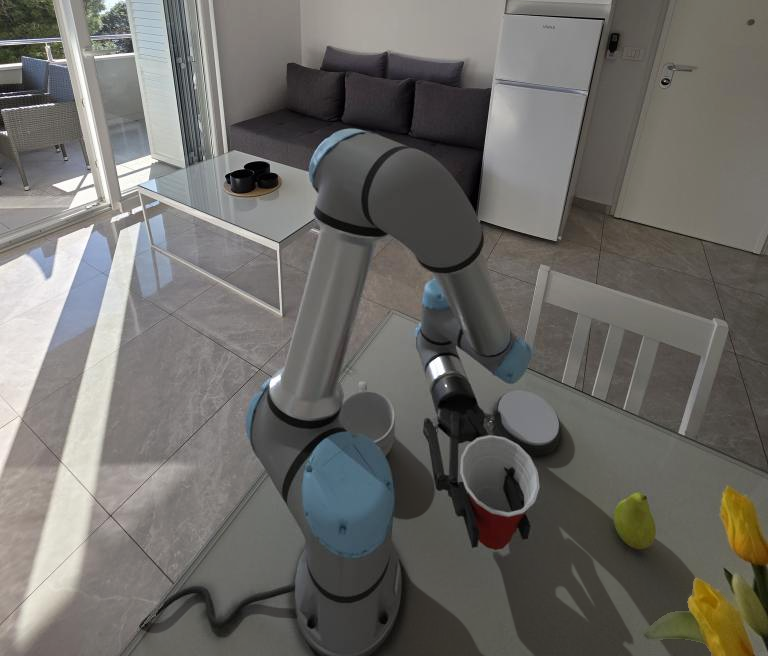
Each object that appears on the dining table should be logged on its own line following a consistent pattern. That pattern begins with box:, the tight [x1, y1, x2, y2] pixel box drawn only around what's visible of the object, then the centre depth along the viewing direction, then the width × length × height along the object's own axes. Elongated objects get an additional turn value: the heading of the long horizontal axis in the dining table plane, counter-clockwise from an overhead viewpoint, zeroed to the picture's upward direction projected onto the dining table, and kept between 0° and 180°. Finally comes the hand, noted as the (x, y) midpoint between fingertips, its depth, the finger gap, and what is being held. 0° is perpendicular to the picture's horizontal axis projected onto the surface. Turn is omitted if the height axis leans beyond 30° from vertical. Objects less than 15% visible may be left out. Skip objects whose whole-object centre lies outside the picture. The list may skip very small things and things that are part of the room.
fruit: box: [613, 492, 656, 550], centre depth 67 cm, size 6×6×12 cm
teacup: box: [339, 381, 396, 457], centre depth 82 cm, size 14×11×8 cm
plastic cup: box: [459, 434, 541, 551], centre depth 62 cm, size 11×11×12 cm
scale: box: [495, 389, 562, 457], centre depth 86 cm, size 12×12×3 cm
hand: (501, 536), depth 57 cm, fingers closed on plastic cup, 6 cm apart
